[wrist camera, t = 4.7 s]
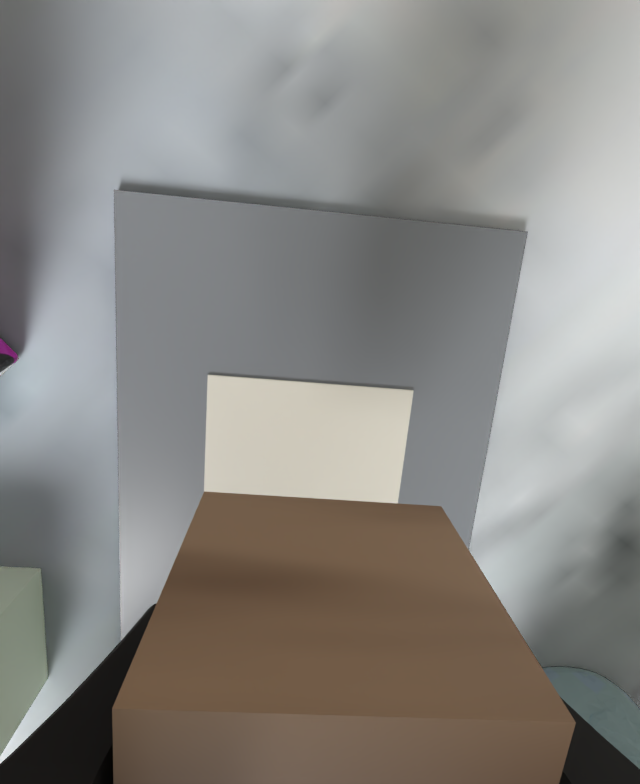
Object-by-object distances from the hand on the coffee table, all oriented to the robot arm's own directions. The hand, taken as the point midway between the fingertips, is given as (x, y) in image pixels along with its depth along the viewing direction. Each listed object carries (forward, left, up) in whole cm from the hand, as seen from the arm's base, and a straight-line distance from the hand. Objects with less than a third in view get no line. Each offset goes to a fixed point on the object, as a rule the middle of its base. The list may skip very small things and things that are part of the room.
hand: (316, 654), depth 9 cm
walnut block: (0, 0, -2) cm, 2 cm away
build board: (0, 0, -8) cm, 8 cm away
